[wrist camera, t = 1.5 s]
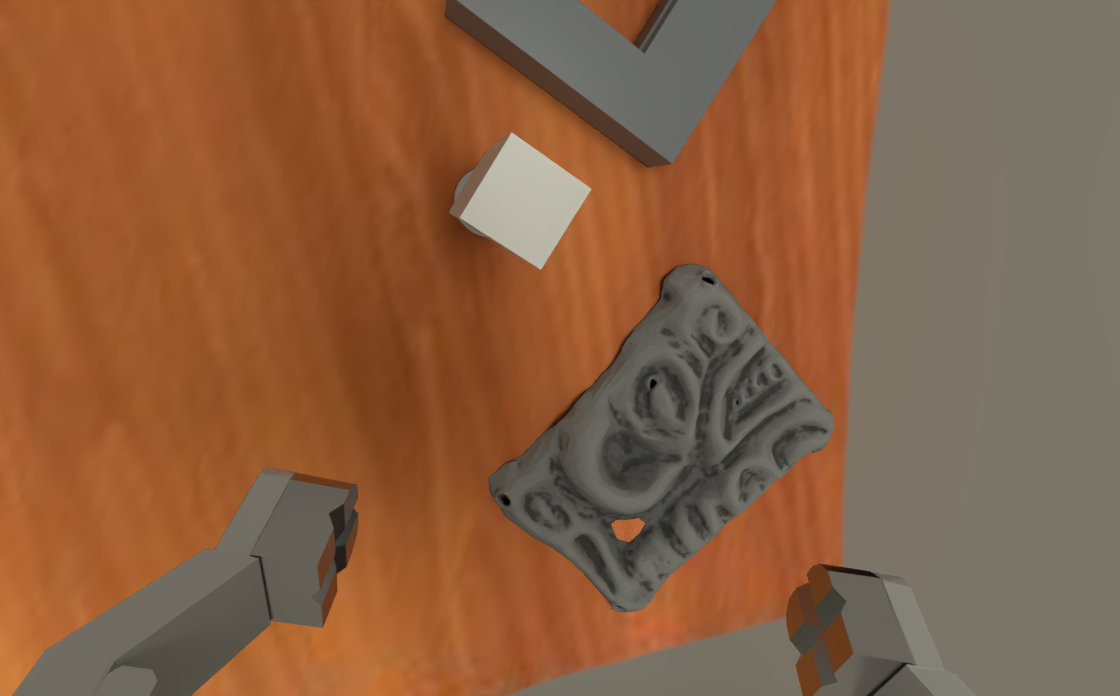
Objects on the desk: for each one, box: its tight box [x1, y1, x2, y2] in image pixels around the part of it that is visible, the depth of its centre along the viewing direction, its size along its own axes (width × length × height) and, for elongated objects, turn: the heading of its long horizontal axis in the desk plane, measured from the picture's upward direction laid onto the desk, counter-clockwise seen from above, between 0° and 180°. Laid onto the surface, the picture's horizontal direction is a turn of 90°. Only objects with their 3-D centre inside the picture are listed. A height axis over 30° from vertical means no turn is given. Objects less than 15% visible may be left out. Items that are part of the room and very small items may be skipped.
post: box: [448, 132, 591, 270], centre depth 34 cm, size 4×4×16 cm
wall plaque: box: [488, 264, 834, 613], centre depth 47 cm, size 24×19×4 cm
